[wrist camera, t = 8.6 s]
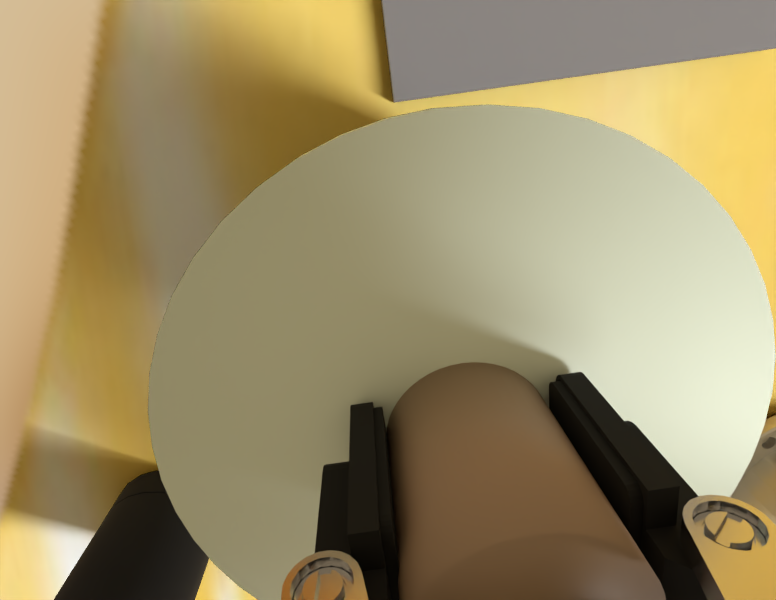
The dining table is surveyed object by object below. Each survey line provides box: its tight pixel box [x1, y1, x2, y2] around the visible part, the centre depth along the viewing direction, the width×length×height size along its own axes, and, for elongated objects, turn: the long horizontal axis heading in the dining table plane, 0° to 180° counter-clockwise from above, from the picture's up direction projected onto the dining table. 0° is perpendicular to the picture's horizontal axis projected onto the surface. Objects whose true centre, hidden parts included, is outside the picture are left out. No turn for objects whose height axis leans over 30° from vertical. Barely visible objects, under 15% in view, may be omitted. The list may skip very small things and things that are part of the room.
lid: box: [148, 105, 775, 600], centre depth 10 cm, size 15×15×6 cm
